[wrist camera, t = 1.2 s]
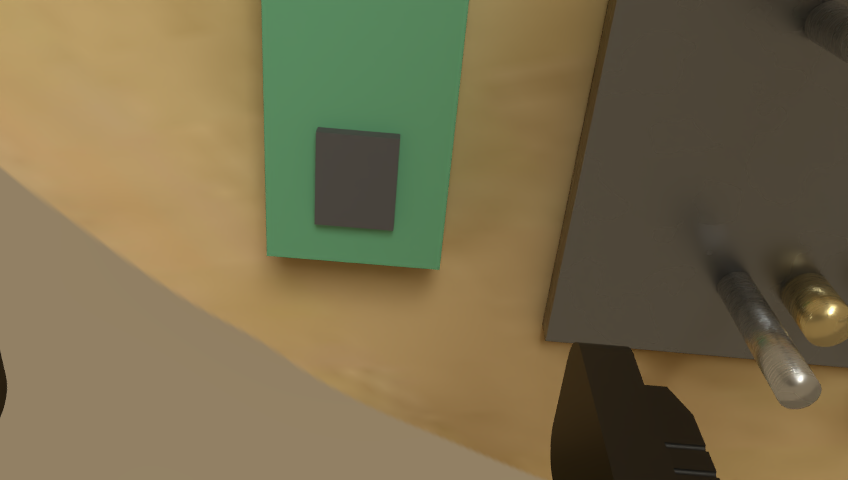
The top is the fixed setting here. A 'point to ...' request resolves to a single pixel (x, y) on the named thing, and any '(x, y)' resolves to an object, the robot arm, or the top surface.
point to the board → (360, 127)
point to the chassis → (713, 188)
